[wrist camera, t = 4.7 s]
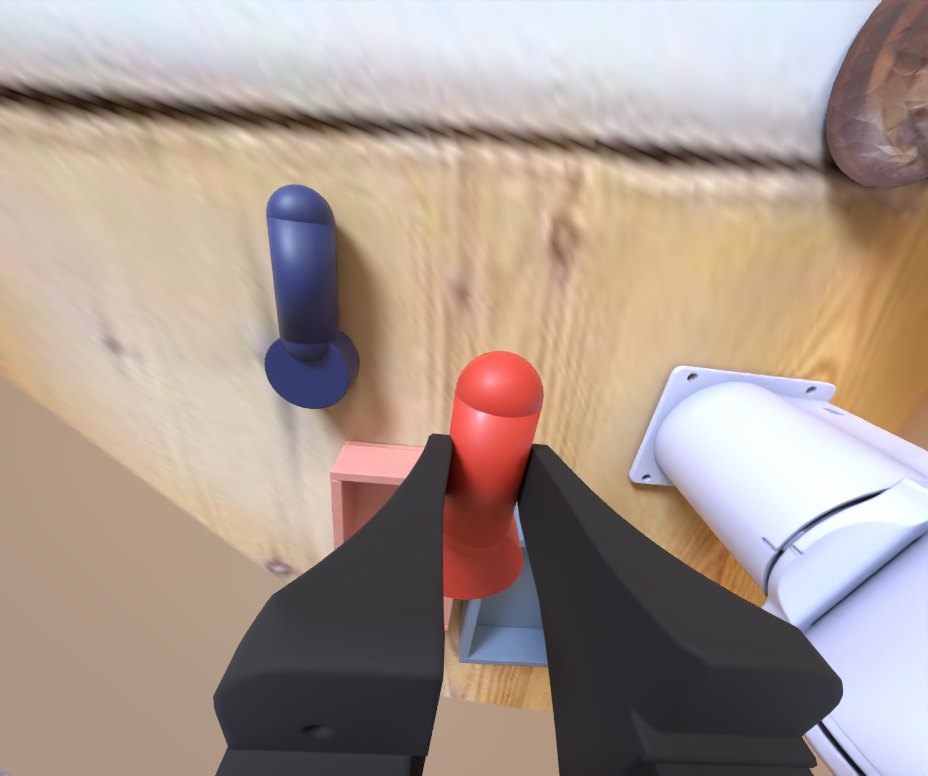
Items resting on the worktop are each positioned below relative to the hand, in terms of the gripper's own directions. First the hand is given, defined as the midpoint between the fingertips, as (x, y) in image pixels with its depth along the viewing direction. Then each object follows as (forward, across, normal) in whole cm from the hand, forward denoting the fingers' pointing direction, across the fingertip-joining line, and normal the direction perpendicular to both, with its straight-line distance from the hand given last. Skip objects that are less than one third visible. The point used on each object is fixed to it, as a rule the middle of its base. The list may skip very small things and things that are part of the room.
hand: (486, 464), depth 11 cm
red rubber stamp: (+1, 0, +1) cm, 2 cm away
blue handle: (+8, +8, -2) cm, 12 cm away
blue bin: (+8, -6, +16) cm, 19 cm away
